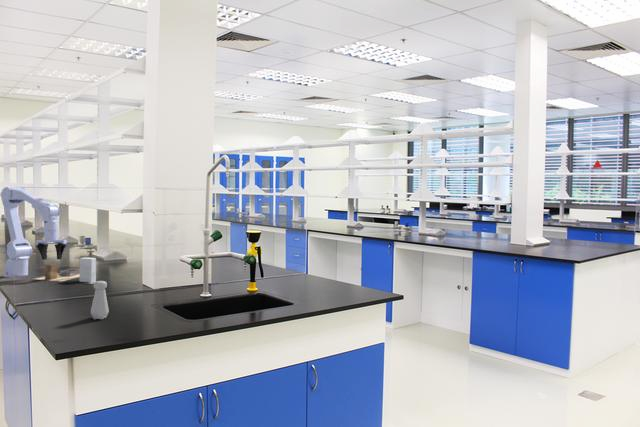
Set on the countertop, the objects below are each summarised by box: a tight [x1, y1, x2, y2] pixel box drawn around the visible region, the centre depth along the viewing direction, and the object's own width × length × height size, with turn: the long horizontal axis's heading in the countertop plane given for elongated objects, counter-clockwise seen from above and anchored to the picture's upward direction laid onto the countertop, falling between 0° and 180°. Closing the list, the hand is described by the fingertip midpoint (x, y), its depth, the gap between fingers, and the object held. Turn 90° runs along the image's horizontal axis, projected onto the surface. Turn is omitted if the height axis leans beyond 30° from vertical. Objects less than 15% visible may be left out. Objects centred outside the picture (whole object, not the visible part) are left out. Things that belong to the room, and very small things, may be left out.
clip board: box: [33, 268, 80, 282], centre depth 245 cm, size 16×22×3 cm
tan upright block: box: [44, 263, 58, 281], centre depth 237 cm, size 3×4×7 cm, turn 169°
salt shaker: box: [90, 280, 110, 320], centre depth 174 cm, size 6×6×13 cm
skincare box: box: [78, 257, 97, 285], centre depth 236 cm, size 6×4×12 cm
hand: (51, 259), depth 237 cm, fingers open, 7 cm apart
